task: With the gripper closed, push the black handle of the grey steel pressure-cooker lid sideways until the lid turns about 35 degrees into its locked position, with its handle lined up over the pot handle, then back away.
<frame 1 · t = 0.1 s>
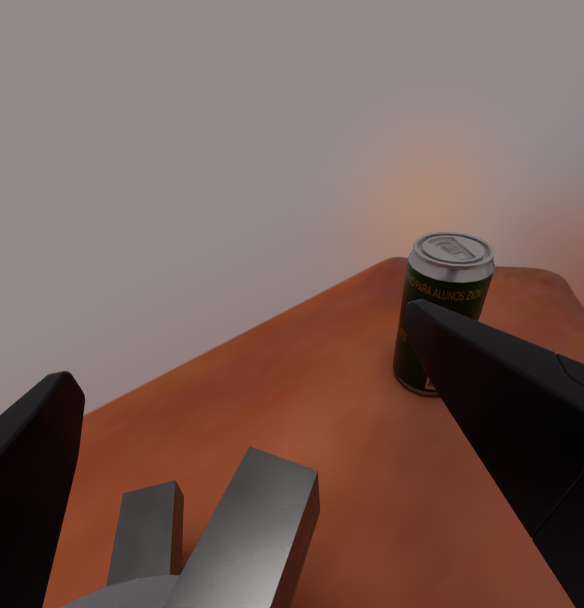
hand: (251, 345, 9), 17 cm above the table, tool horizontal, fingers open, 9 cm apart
beer can: (424, 375, 29), on the table
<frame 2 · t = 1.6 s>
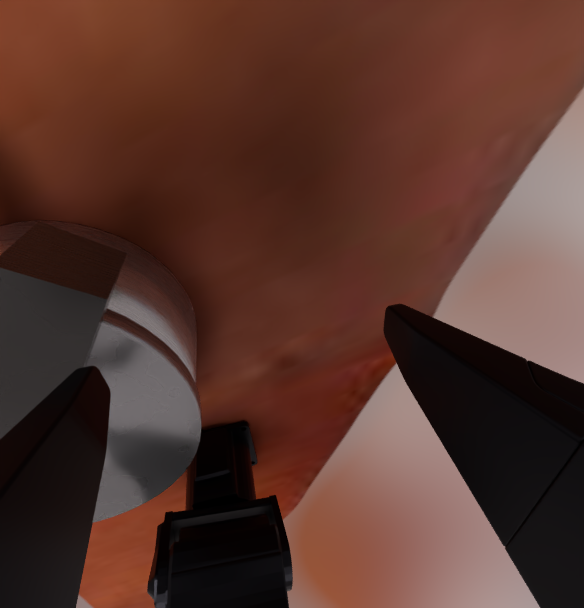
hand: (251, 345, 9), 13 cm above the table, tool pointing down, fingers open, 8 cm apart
cooker pot: (78, 331, 22), on the table
cooker lid: (21, 440, 14), point 9 cm above the table, hinge at -35.0°
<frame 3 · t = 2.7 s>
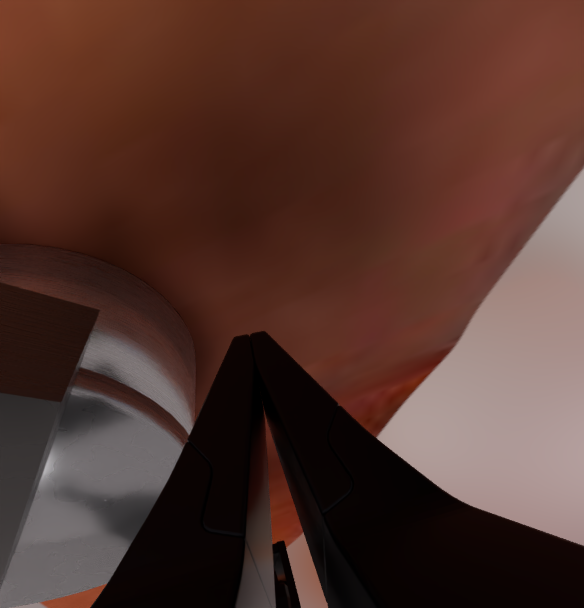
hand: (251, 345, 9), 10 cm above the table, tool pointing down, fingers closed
cooker pot: (59, 365, 19), on the table
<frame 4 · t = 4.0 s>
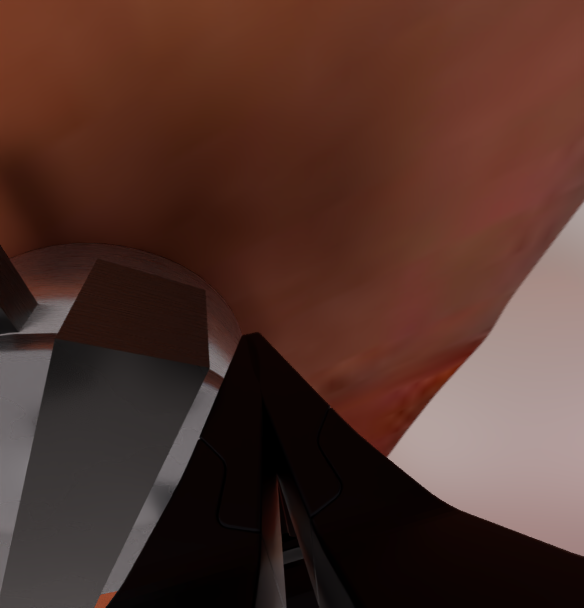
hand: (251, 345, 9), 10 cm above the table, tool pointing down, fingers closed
cooker pot: (115, 362, 20), on the table
cooker lid: (74, 516, 12), point 9 cm above the table, hinge at -32.8°, touching gripper
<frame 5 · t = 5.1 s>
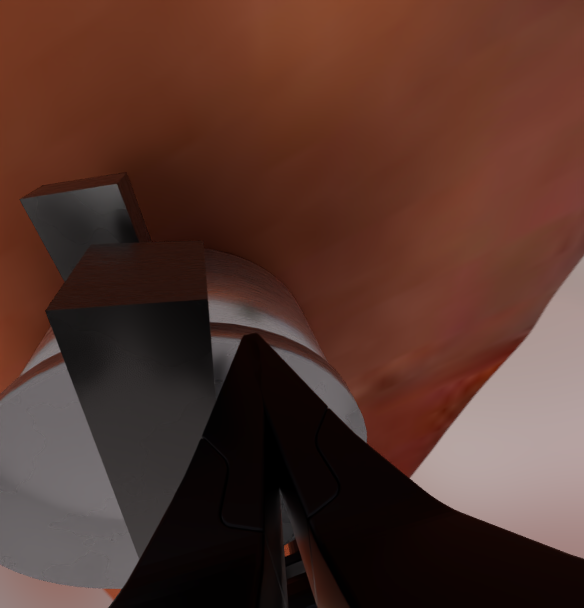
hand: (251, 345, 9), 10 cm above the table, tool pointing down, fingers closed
cooker pot: (192, 360, 21), on the table
cooker lid: (187, 493, 12), point 9 cm above the table, hinge at -9.6°, touching gripper
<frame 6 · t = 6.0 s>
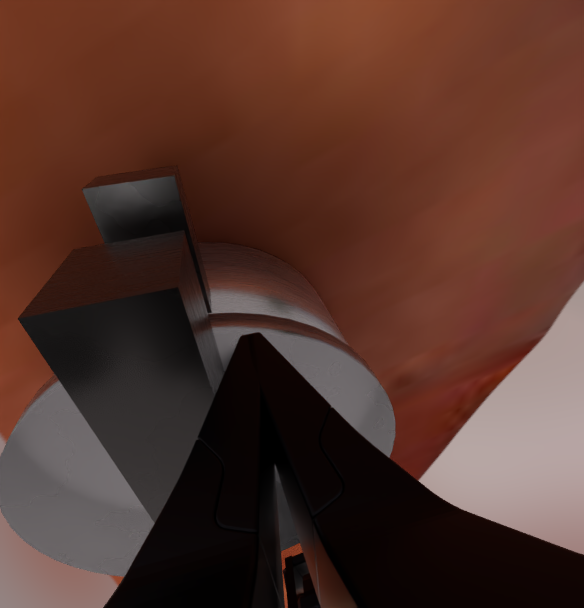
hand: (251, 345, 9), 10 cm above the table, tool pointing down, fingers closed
cooker pot: (215, 355, 21), on the table
cooker lid: (216, 484, 13), point 9 cm above the table, hinge at 0.2°, touching gripper
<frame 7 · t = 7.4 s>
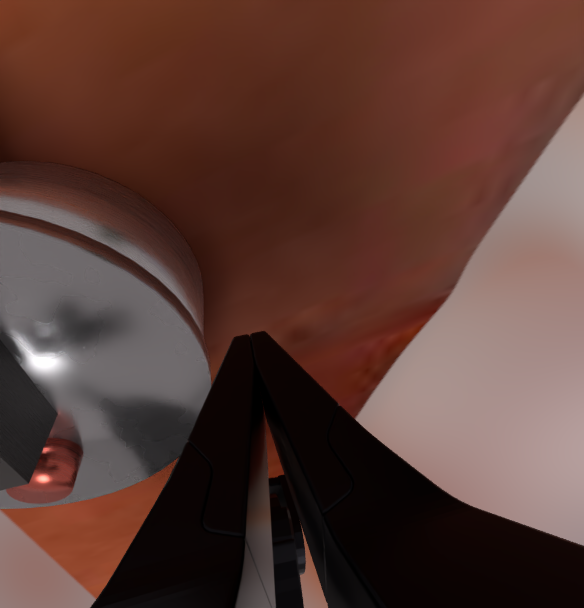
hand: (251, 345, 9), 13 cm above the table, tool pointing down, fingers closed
cooker pot: (74, 293, 20), on the table
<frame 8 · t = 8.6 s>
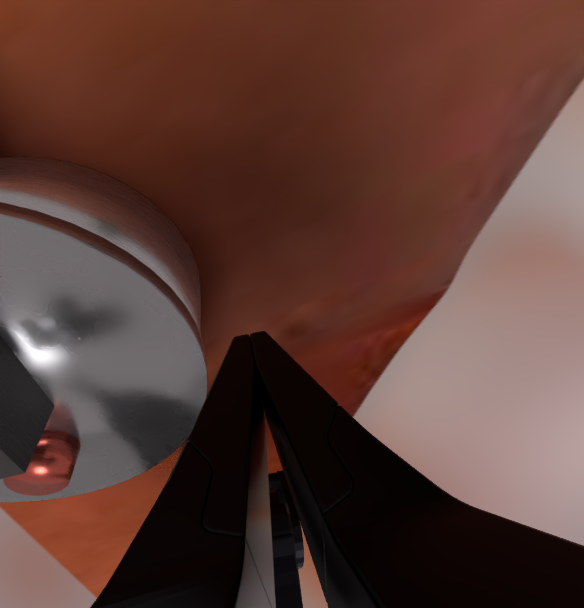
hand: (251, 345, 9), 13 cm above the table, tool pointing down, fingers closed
cooker pot: (72, 289, 20), on the table
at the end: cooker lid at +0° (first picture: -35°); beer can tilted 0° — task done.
